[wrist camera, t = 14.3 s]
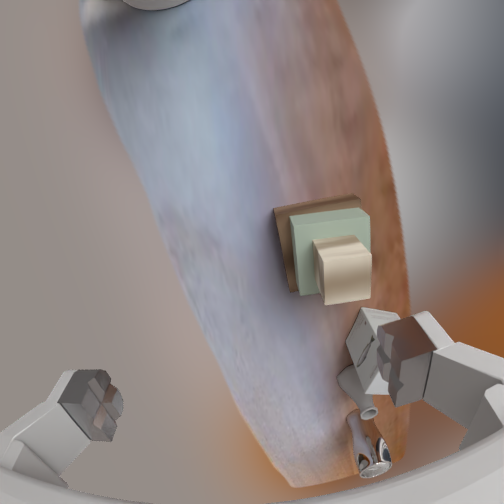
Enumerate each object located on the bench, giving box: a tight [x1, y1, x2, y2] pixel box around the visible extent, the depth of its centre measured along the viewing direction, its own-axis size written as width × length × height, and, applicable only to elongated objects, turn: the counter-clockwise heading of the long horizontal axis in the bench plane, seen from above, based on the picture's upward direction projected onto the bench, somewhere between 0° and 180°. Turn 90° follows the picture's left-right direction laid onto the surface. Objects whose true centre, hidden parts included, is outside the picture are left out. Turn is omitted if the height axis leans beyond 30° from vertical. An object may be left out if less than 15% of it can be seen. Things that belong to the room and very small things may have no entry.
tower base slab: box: [273, 193, 362, 292], centre depth 42 cm, size 11×11×4 cm
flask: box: [337, 365, 378, 420], centre depth 49 cm, size 7×7×10 cm
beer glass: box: [346, 409, 392, 478], centre depth 52 cm, size 7×7×15 cm
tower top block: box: [289, 208, 370, 296], centre depth 38 cm, size 9×9×4 cm
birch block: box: [312, 235, 372, 305], centre depth 33 cm, size 5×5×6 cm
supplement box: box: [345, 307, 400, 394], centre depth 43 cm, size 7×7×13 cm
